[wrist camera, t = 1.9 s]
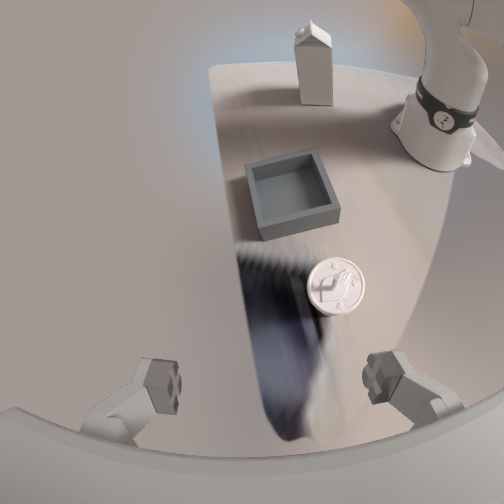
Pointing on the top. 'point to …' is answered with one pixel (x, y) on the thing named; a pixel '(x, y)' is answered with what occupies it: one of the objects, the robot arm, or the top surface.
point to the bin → (291, 194)
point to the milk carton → (314, 65)
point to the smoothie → (335, 286)
